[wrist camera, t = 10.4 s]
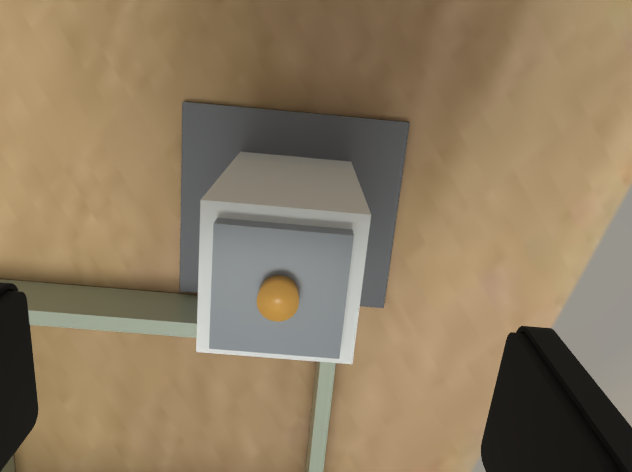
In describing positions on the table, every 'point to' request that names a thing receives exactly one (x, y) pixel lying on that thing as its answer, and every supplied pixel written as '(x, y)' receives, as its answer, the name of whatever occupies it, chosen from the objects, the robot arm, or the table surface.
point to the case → (153, 318)
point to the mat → (300, 141)
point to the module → (282, 259)
